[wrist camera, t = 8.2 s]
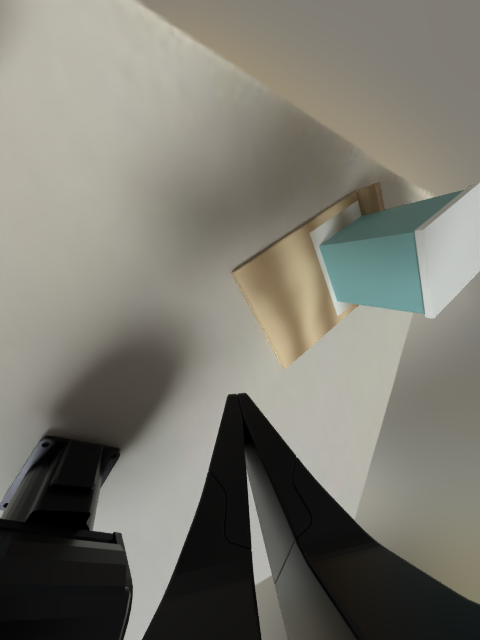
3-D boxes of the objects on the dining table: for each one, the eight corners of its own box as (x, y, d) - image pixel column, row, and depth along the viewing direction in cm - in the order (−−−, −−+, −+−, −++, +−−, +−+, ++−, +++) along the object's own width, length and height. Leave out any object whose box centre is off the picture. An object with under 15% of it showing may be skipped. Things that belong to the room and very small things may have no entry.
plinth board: (282, 367, 27) (297, 377, 25) (231, 272, 22) (244, 272, 19) (377, 285, 32) (398, 286, 30) (355, 190, 27) (379, 181, 24)
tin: (336, 303, 28) (433, 318, 19) (317, 245, 25) (423, 229, 16) (375, 271, 30) (479, 270, 21) (362, 213, 27) (479, 182, 18)
